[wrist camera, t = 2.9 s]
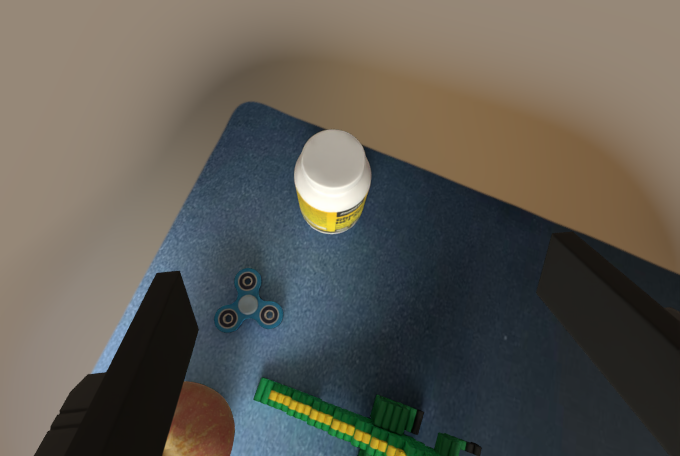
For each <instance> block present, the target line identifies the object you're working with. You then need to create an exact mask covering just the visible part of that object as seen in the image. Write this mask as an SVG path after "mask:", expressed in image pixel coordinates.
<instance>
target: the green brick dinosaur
mask: <svg viewBox="0 0 680 456" xmlns="http://www.w3.org/2000/svg"><path fill="white" fill-rule="evenodd" d="M254 400H255V401H258V402H261V403H263V404H267V405H269V406H271V407H274V408H276V409H280V410H282V411H284V412H287V413H286V414H288V415H290V416H294V417H295V418H298V419H301V420H303V421H307V424H309V425H311V426H315V427H316V428H319V429H322V430H324V431H328V434H330V435H332V436H336V437H337V438H340V439H343V440H345V441H348V442H351V444H352V445H353V446H356V447H359V448H360V451H359V454H358V456H458V455H459V451H460V449H461V450H465V451H467V452H469V453H473V454H475V455H477V456H480V453H481V449H482V448H481V447H480V446H479V445H477V444H475V443H473V442H471V443H470V442H467V441H464V440H462V439H458V438H456V437H454V436H450V435H448V434H446V433H444V434H442V433H438V437H437V440H436V444H435V448H434V449H433V448H431V447H428V446H425V444H423V443H422V442H419V441H416V439H414V438H412V437H410V436H407V435H405V434H403V433H404V430H406V431H408V432H412V433H413V434H416V435H418V433H419V429H420V425H421V422H422V418H423V414H424V412H423V411H421V410H418V409H415V408H413V407H409V406H407V405H404V404H402V403H399V402H396V401H394V400H391V399H388V398H386V397H383V396H380V395H376V398H375V401H374V405H373V408H372V411H371V414H370V417H371V419H369V418H367V417H363V416H361V415H359V414H356V413H354V412H351V411H348V410H346V409H342V408H340V407H338V406H335V405H332V404H328V403H327V402H324V401H322V399H320V398H317V397H314V396H312V395H308V394H307V393H304V392H301V391H299V390H295V389H293V388H291V387H288V386H285V385H282V384H280V383H277V382H274V381H272V380H268V379H267V378H264V377H262V378H261V380H260V383H259V386H258V388H257V391H256V394H255V396H254Z"/></svg>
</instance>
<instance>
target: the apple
mask: <svg viewBox="0 0 680 456" xmlns="http://www.w3.org/2000/svg"><path fill="white" fill-rule="evenodd" d="M234 433H235V424H234V419H233V415H232V412H231V409H230V407H229V405H228V403H227V402H226V400H225V399H224V398H223V397H222V396H221V395H220V394H219V393H218V392H216V391H215V390H213V389H211V388H209V387H207V386H205V385H202V384H199V383H195V382H188V381H184V383H183V386H182V390H181V393H180V396H179V400H178V403H177V407H176V410H175V414H174V417H173V421H172V424H171V427H170V431H169V434H168V438H167V441H166V445H165V448H164V452H163V455H162V456H230V454H231V450H232V446H233V441H234Z"/></svg>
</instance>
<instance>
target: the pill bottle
mask: <svg viewBox="0 0 680 456" xmlns="http://www.w3.org/2000/svg"><path fill="white" fill-rule="evenodd" d="M294 180H295V186H296V190H297V195H298V200H299V204H300V209H301V212H302V215H303V217H304V219H305V220H306V222H307V223H308V224H309V225H310V226H311V227H312V228H314V229H315V230H317V231H320V232H322V233H327V234H337V233H341V232H344V231H346V230H348V229H349V228H351V227H352V226H353V225H354V224H355V223H356V222H357V221H358V219H359V217H360V215H361V213H362V210H363V207H364V204H365V201H366V197H367V194H368V191H369V187H370V183H371V169H370V165H369V162H368V160H367V158H366V156H365V152H364V149H363V147H362V145H361V143H360V142H359V141H358V140H357V139H356V138H355V137H354V136H353V135H351V134H350V133H348V132H345V131H342V130H337V129H330V130H324V131H321V132H319V133H317V134H315V135H314V136H312V137H311V138H310V139H309V140H308V141H307V143H306V144H305V146H304V148H303V151H302V153H301V155H300V156H299V158H298V160H297V162H296V166H295V171H294Z"/></svg>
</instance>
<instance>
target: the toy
mask: <svg viewBox="0 0 680 456" xmlns="http://www.w3.org/2000/svg"><path fill="white" fill-rule="evenodd" d="M247 278H250V279H251V283H250V284H249V285H246V284H245V280H246V279H247ZM261 283H262V279H261V276H260V274H259V273H258V272H257V271H256V270H254V269H252V268H245V269H242V270H240V271H239V272H238V273H237V275H236V276H235V279H234V284H235V287H236V289H237V291H238V297H237V299H236V301H235V302H234V303H232V304H230V305H225V306H222V307H221V308H219V309H218V311H217V312H216V314H215V317H214V322H215V325H216V327H217V328H218V329H219V330H220V331H222V332H226V333H230V332H233V331H235V330H237V329H238V328H239V327H240V325H241V324H242V322H243V321H244V320H246V319H248V318H253V319H255V320H256V321H257V322H258V324H259V325H260V326H261V327H263V328H266V329H272V328H275V327H277V326H278V325H279V324H280V323H281V322H282V319H283V310H282V308H281V306H280V305H279V304H277V303H276V302H273V301H264V300H262V299H261V298H260V296H259V289H260V286H261ZM269 311H271V312H272V313H273V317H272V318H270V319H269V318H267V316H266V314H267V312H269ZM227 315H230V316H231V317H232V319H231V321H230V322H227V321H226V316H227Z"/></svg>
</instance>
